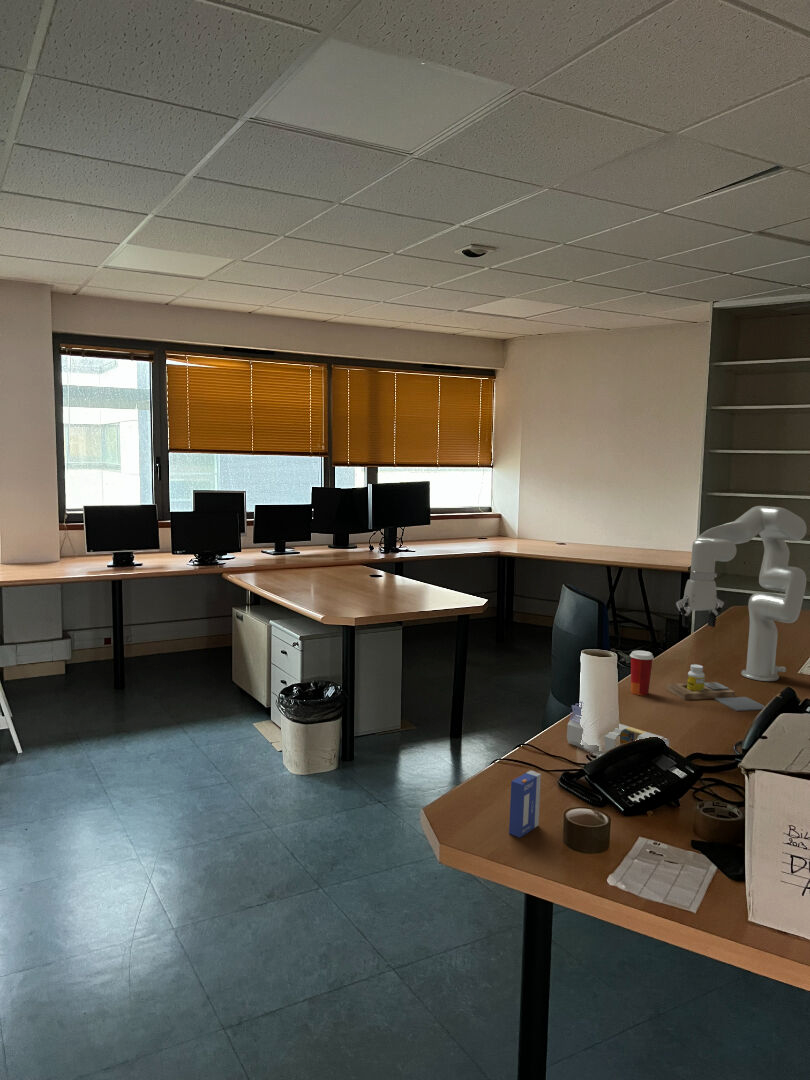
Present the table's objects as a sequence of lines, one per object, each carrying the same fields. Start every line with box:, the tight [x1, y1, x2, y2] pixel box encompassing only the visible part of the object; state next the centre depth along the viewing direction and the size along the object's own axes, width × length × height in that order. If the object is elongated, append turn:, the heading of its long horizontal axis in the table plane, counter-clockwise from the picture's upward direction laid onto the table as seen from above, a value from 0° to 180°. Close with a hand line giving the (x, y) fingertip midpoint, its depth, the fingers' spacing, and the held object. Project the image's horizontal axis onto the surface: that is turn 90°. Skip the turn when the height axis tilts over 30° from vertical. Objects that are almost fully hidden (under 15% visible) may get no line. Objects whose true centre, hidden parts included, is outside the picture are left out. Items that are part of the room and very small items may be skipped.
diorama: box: [566, 700, 670, 755], centre depth 211 cm, size 25×10×13 cm, turn 44°
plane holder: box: [666, 681, 736, 701], centre depth 267 cm, size 19×11×3 cm, turn 103°
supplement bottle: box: [687, 663, 706, 692], centre depth 266 cm, size 5×5×10 cm
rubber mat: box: [713, 696, 766, 712], centre depth 256 cm, size 12×12×1 cm
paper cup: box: [629, 650, 654, 696], centre depth 265 cm, size 8×8×14 cm
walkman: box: [508, 770, 542, 839], centre depth 166 cm, size 8×3×12 cm, turn 140°
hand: (698, 626), depth 264 cm, fingers open, 9 cm apart
